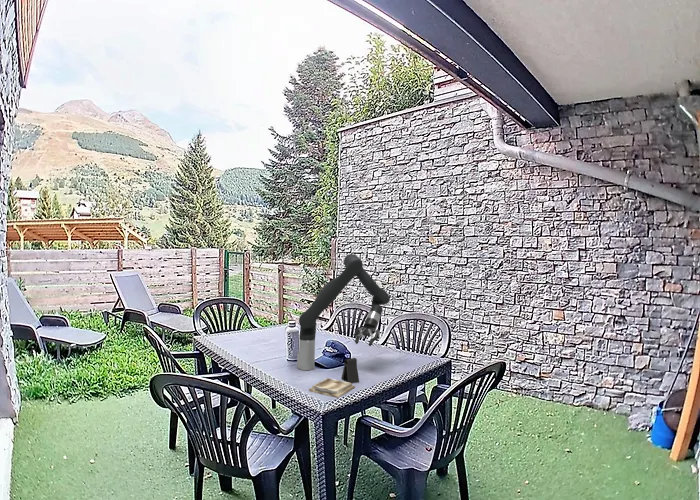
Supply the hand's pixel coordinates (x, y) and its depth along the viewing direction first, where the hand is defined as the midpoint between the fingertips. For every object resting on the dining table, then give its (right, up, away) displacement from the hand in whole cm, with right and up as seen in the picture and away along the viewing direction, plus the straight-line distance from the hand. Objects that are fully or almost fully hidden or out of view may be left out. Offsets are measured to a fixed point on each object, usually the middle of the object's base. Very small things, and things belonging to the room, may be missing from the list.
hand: (362, 344), depth 256 cm
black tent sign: (-7, -18, -11) cm, 22 cm away
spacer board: (-16, -18, -26) cm, 35 cm away
